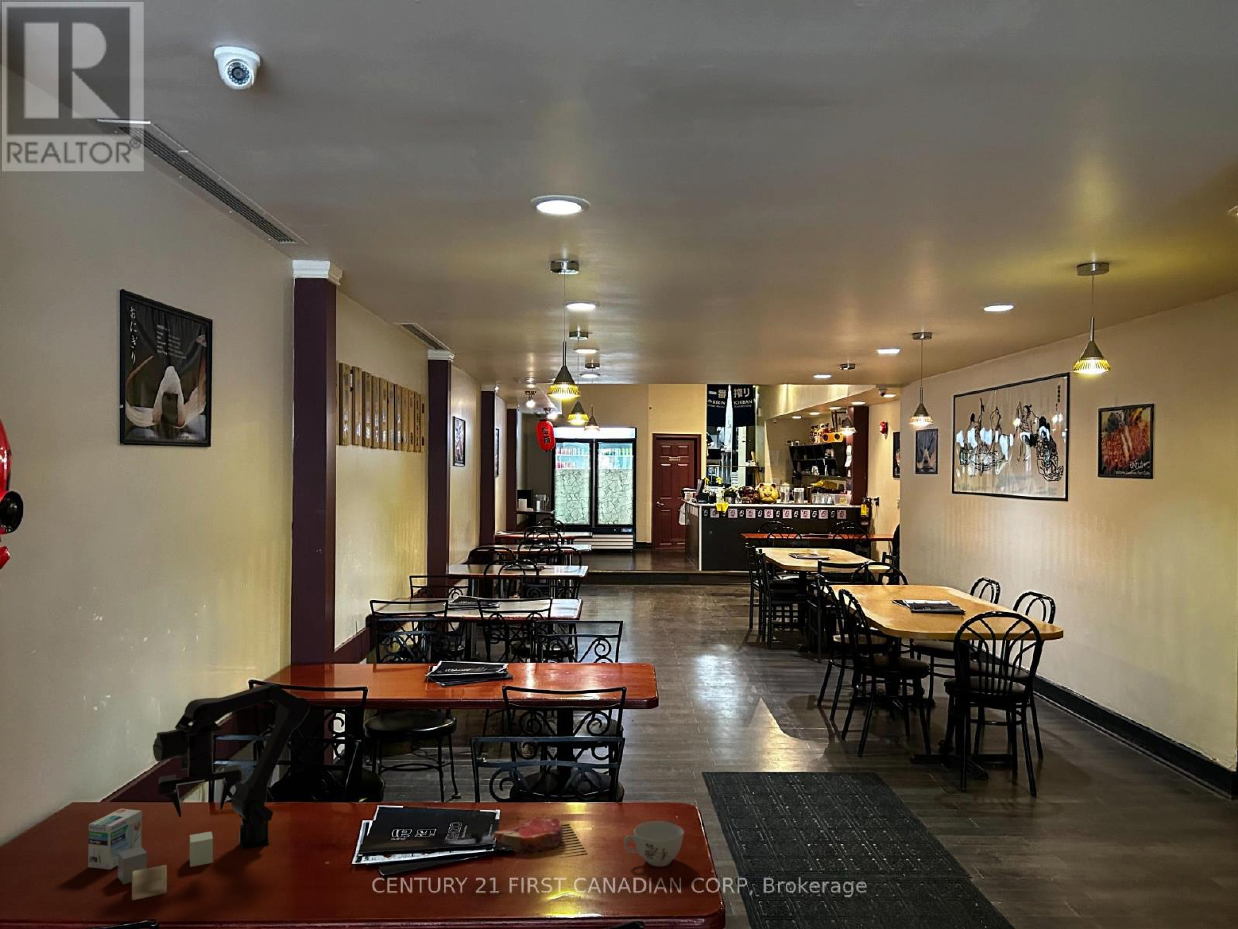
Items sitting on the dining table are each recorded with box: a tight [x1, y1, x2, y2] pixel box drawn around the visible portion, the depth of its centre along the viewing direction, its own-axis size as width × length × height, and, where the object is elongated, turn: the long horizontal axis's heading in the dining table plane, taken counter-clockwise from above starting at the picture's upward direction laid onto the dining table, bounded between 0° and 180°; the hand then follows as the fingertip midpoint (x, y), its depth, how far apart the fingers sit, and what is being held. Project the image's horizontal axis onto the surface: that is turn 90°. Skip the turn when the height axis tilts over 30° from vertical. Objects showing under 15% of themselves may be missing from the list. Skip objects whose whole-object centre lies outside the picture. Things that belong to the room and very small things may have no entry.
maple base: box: [131, 864, 168, 901], centre depth 199 cm, size 7×7×4 cm
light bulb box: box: [88, 808, 143, 871], centre depth 215 cm, size 11×7×11 cm, turn 168°
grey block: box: [117, 845, 148, 885], centre depth 205 cm, size 5×5×6 cm
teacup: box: [623, 820, 685, 868], centre depth 214 cm, size 15×12×8 cm
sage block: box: [189, 831, 214, 868], centre depth 214 cm, size 5×5×6 cm
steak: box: [493, 816, 588, 859], centre depth 224 cm, size 25×21×6 cm
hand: (200, 813), depth 214 cm, fingers open, 9 cm apart
